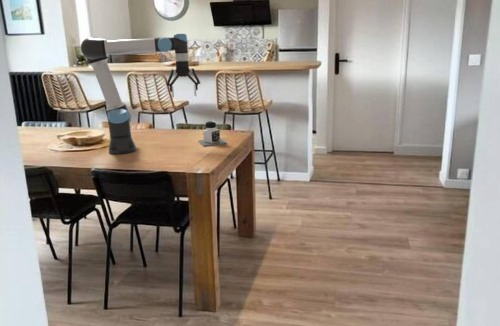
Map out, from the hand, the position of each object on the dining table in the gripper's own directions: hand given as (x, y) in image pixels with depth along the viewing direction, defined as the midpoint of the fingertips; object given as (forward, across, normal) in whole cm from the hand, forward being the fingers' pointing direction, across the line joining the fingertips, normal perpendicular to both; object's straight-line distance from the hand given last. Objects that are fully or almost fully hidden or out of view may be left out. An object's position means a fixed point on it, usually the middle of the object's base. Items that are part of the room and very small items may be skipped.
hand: (184, 96), depth 273 cm
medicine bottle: (+26, +12, -14) cm, 32 cm away
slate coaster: (+27, +13, -14) cm, 33 cm away
